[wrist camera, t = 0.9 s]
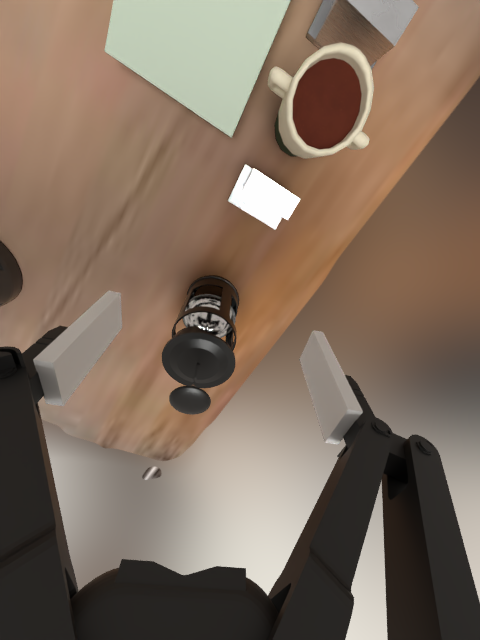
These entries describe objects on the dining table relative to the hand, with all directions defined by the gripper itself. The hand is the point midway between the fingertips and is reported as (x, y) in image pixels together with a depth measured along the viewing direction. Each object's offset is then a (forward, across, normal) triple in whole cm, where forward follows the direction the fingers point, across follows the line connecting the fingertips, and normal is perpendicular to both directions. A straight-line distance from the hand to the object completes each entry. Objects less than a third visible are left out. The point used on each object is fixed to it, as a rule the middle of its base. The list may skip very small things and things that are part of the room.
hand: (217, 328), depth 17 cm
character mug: (+26, +6, +16) cm, 30 cm away
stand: (+25, -7, +21) cm, 34 cm away
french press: (+26, -1, -12) cm, 28 cm away
